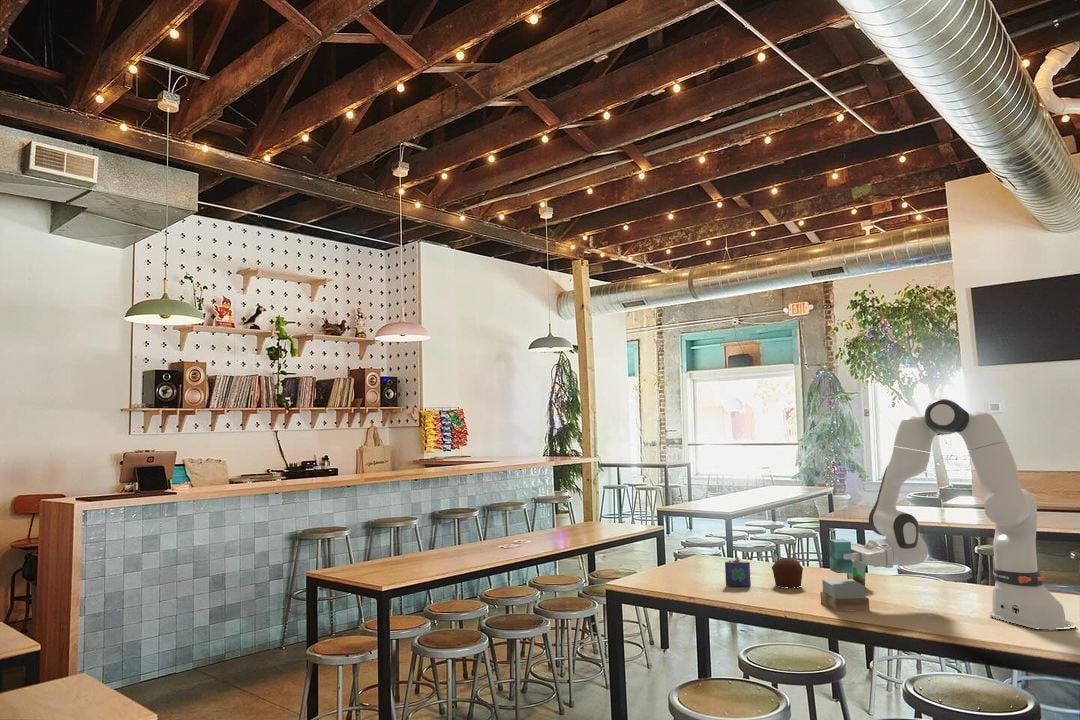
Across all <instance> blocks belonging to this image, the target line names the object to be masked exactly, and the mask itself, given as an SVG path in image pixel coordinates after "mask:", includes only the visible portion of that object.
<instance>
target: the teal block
mask: <svg viewBox="0 0 1080 720" xmlns="http://www.w3.org/2000/svg"><path fill="white" fill-rule="evenodd" d="M851 543H852V542H851V541H849V540H846V539H844V538H840V539H839V538H838V539H837V538H836V539H828V548H829V549H828V551H829V569H830V571H832V572H834V573H836V574H847V573H852V560H850V559H843V558H842V553H851Z"/></svg>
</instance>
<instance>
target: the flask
mask: <svg viewBox="0 0 1080 720" xmlns="http://www.w3.org/2000/svg"><path fill="white" fill-rule="evenodd" d="M724 567H725V568H724V569H725V570H724V571H725V572H724V573H725V587H726V586H728V587H727V588H739V587H740V588H742V587H741V586H748V587H749V586H750V587H751V585H752V583H751V565H750V561H747V560H746V561H741V560H740V556H739V557H737V556H735V559H734V560H730V559H729V560H728V561H725V562H724Z"/></svg>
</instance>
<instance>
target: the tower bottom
mask: <svg viewBox="0 0 1080 720" xmlns="http://www.w3.org/2000/svg"><path fill="white" fill-rule="evenodd" d="M820 603H821V604H822V605H824V606H826V607H827V608H829V609H831V608H832V610H833V611H835V612H850V611H849V610H857V611H870V599H869V598H868V597H867V596H866V598H859V599H834V598H832V597H831V596H829V595H827V594H826V593H824V592H823V591H820ZM846 610H848V611H846Z"/></svg>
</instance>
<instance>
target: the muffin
mask: <svg viewBox="0 0 1080 720" xmlns="http://www.w3.org/2000/svg"><path fill="white" fill-rule="evenodd" d="M771 570H772V573H773V579H774V583H775V586H776V585H777V586H780V587H788V588H794V587H795V589H798V588H797V587H799V586H801V587H802V581H803V580H802V579H803V573H804V572H803V571H804V568H803V566H802V565H801V563H800V562H799V561H797V560H796V559H794V558H792V557H782V558H779V559H778V560H776V561H775V562H774V563H773V565H772V566H771ZM777 586H776V587H777ZM780 587H779V588H780ZM799 588H800V587H799Z"/></svg>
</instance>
